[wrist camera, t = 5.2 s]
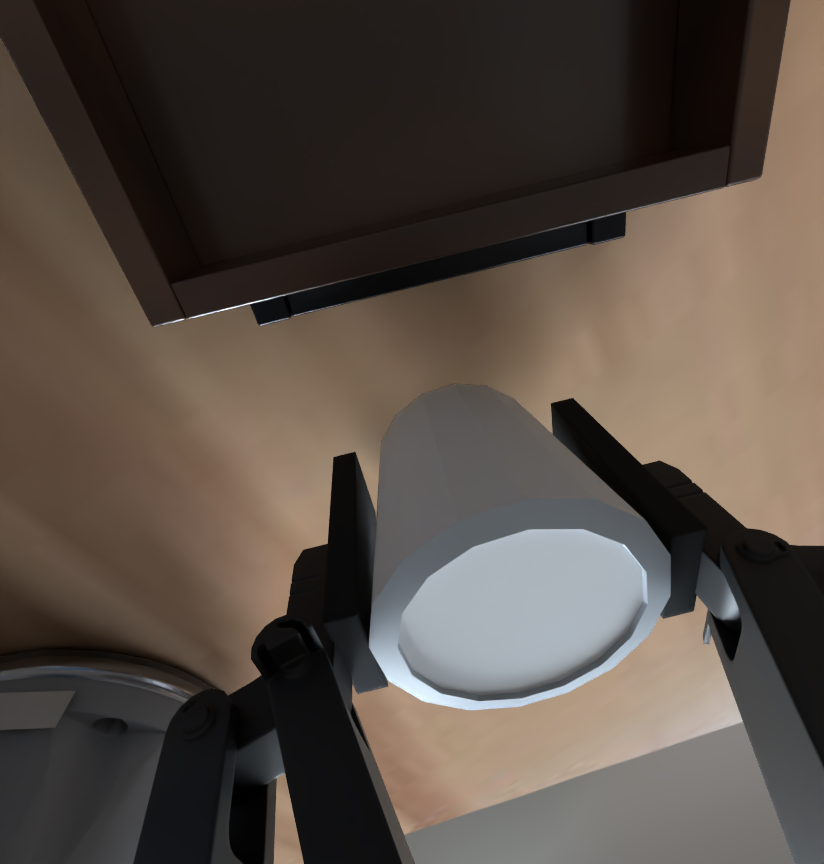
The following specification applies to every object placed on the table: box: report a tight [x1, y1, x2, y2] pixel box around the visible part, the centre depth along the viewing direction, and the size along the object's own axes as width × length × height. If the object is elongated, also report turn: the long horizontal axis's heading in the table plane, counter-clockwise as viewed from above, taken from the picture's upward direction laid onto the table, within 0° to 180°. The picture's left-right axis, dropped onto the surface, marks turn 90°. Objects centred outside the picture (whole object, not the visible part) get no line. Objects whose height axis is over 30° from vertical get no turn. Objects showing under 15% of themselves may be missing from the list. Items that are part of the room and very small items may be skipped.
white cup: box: [369, 384, 671, 710], centre depth 13 cm, size 7×7×7 cm
